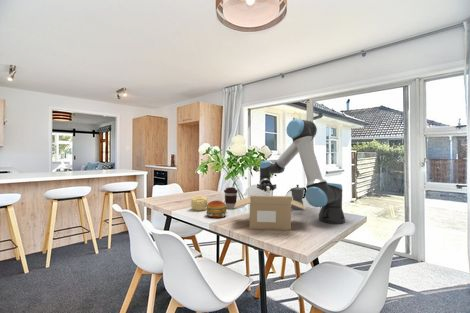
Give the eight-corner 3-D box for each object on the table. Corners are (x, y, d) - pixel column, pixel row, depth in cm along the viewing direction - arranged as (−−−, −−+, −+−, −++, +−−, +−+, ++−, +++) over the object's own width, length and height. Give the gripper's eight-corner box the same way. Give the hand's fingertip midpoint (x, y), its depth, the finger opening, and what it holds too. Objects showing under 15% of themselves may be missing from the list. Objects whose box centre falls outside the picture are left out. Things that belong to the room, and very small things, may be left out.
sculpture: (191, 212, 163) (191, 196, 163) (190, 208, 174) (190, 193, 174) (208, 211, 165) (208, 196, 165) (206, 207, 177) (206, 193, 177)
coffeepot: (294, 211, 168) (295, 186, 167) (286, 208, 176) (286, 184, 176) (310, 209, 175) (311, 184, 175) (301, 206, 183) (301, 183, 183)
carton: (298, 217, 152) (298, 195, 152) (307, 230, 125) (307, 204, 125) (237, 215, 155) (237, 193, 155) (233, 228, 128) (233, 202, 128)
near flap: (292, 196, 118) (292, 197, 118) (290, 203, 126) (290, 204, 125) (250, 195, 120) (250, 196, 120) (250, 202, 127) (250, 203, 127)
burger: (201, 216, 153) (201, 200, 153) (216, 212, 163) (216, 198, 163) (216, 220, 144) (216, 203, 144) (231, 215, 154) (231, 200, 154)
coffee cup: (235, 210, 170) (236, 189, 170) (222, 209, 172) (222, 188, 172) (238, 207, 180) (238, 187, 180) (225, 206, 182) (225, 186, 182)
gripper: (275, 190, 160) (279, 196, 136) (256, 190, 161) (257, 196, 137) (275, 179, 160) (279, 183, 136) (256, 179, 161) (257, 183, 137)
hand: (268, 190), depth 137 cm, fingers closed
